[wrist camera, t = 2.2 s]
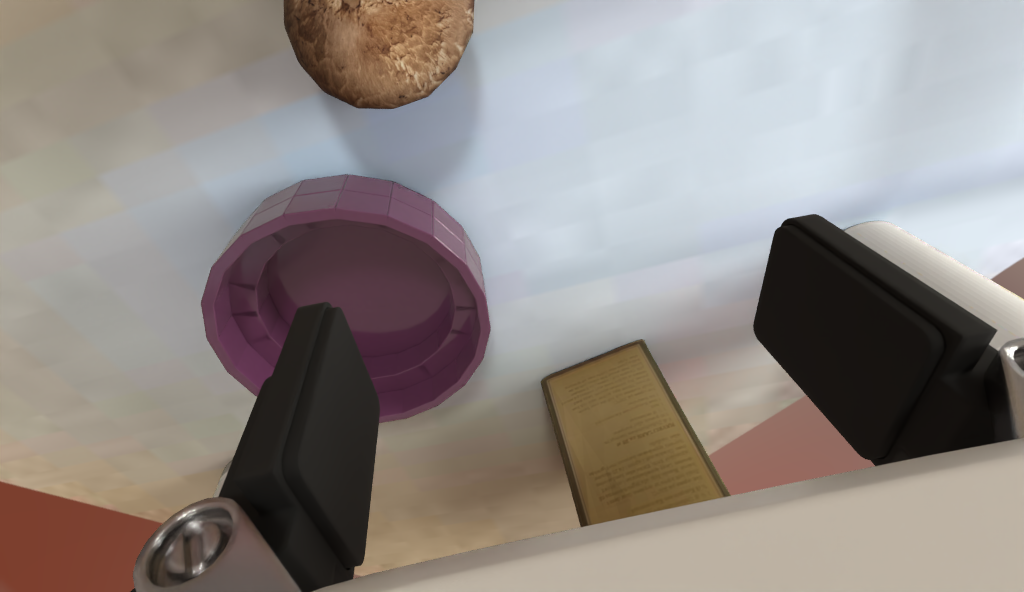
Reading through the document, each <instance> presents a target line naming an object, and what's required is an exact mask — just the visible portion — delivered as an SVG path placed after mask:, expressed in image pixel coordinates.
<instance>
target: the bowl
mask: <svg viewBox="0 0 1024 592" xmlns="http://www.w3.org/2000/svg"><path fill="white" fill-rule="evenodd" d="M323 302H329V303H330V304H331V305H332V307H333V308H334V307H340V308H341V309H342V311H343V313H344V315H345V318H346V320H347V322H348V325H349V327H350V330H351V332H352V334H353V337H354V339H355V342H356V344H357V347H358V349H359V351H360V354H361V356H362V359H363V361H364V363H365V366H366V368H367V371H368V373H369V376H370V378H371V380H372V383H373V385H374V388H375V390H376V392H377V395H378V398H379V403H380V416H379V423H383V422H389V421H395V420H401V419H405V418H409V417H411V416H414V415H416V414H419V413H421V412H424V411H426V410H429V409H431V408H433V407H436V406H438V405H439V404H441V403H442V402H443V401H445V400H446V399H447V398H449V397H450V396H451V395H453V394H454V393H455V392H457V391H458V390H459V389H461V388H462V387H463V386H464V385H465V384H466V383H467V382H468V380H469V379H470V377H471V376H472V375H473V373H474V372H475V370H476V369H477V367H478V366H479V365H480V363H481V362H482V360H483V357H484V354H485V350H486V346H487V342H488V338H489V334H490V321H489V314H488V308H487V301H486V294H485V288H484V282H483V275H482V269H481V263H480V258H479V255H478V254H477V252H476V250H475V248H474V246H473V245H472V243H471V241H470V239H469V237H468V236H467V234H466V232H465V230H464V229H463V227H462V226H461V225H460V224H459V223H458V222H457V221H456V220H455V219H454V218H452V217H451V216H450V215H449V214H448V213H447V212H446V211H445V210H444V209H442V208H441V207H440V206H439V205H438V204H437V203H436V202H435V201H432V199H430V198H427V197H425V196H423V195H421V194H419V193H417V192H415V191H413V190H410V189H408V188H406V187H404V186H402V185H400V184H398V183H396V182H392V181H387V180H381V179H375V178H368V177H362V176H356V175H348V174H345V175H338V176H331V177H323V178H316V179H308V180H304V181H303V180H302V181H300V182H298V183H296V184H294V185H292V186H290V187H288V188H286V189H284V190H282V191H280V192H278V193H276V194H274V195H272V196H270V197H268V198H266V200H264V201H263V202H262V203H261V204H260V205H259V207H258V208H257V209H256V210H255V211H254V212H253V213H252V214H251V215H250V217H249V218H248V219H247V220H246V221H245V222H244V223H243V224H242V225H241V227H240V228H239V229H238V231H237V232H236V234H235V235H234V236H233V238H232V239H231V241H230V242H229V243H228V245H227V246H226V247H225V249H224V250H223V252H222V253H221V254H220V256H219V257H218V259H217V260H216V261H215V263H214V264H213V266H212V267H211V270H210V274H209V277H208V280H207V284H206V287H205V290H204V294H203V297H202V300H201V307H202V313H203V319H204V325H205V331H206V337H207V340H208V342H209V343H210V345H211V347H212V348H213V350H214V351H215V353H216V355H217V356H218V358H219V360H220V361H221V363H222V364H223V366H224V368H225V369H226V370H227V372H228V373H229V374H230V375H232V376H233V377H234V378H235V379H236V380H237V381H239V382H240V383H241V384H242V385H243V386H244V387H246V388H247V389H248V390H249V391H250V392H251V393H253V394H254V395H255V396H257V397H258V394H259V392H260V389H261V387H262V385H263V383H264V381H265V380H266V379H267V378H268V377H270V376H272V374H273V371H274V369H275V366H276V364H277V361H278V358H279V356H280V353H281V350H282V348H283V345H284V342H285V340H286V337H287V334H288V332H289V329H290V327H291V324H292V321H293V319H294V316H295V313H296V311H297V309H298V307H301V306H306V305H312V304H317V303H323Z"/></svg>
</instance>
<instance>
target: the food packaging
mask: <svg viewBox="0 0 1024 592" xmlns="http://www.w3.org/2000/svg"><path fill="white" fill-rule="evenodd" d="M541 384H542V388H543V392H544V395H545V399H546V403H547V406H548V410H549V413H550V417H551V421H552V424H553V428H554V431H555V435H556V438H557V442H558V445H559V449H560V452H561V456H562V459H563V463H564V466H565V470H566V474H567V477H568V481H569V485H570V488H571V492H572V496H573V500H574V503H575V507H576V511H577V514H578V518H579V522H580V526H581V527H585V526H590V525H594V524H599V523H604V522H608V521H613V520H618V519H622V518H627V517H632V516H637V515H642V514H646V513H651V512H656V511H661V510H666V509H670V508H675V507H680V506H685V505H689V504H694V503H699V502H704V501H709V500H713V499H718V498H723V497H728V496H731V495H730V494H729V492H728V490H727V489H726V486H725V485H724V483H723V481H722V479H721V478H720V476H719V474H718V472H717V471H716V469H715V467H714V465H713V463H712V462H711V460H710V458H709V456H708V455H707V453H706V451H705V449H704V448H703V446H702V444H701V442H700V441H699V439H698V437H697V435H696V434H695V432H694V430H693V428H692V427H691V425H690V423H689V421H688V420H687V418H686V416H685V414H684V412H683V411H682V409H681V407H680V405H679V404H678V402H677V400H676V398H675V396H674V395H673V393H672V391H671V389H670V387H669V386H668V384H667V382H666V380H665V378H664V377H663V375H662V373H661V371H660V369H659V368H658V366H657V364H656V362H655V360H654V359H653V357H652V355H651V353H650V351H649V350H648V348H647V345H646V343H645V341H644V340H642V339H641V340H638V341H635V342H632V343H629V344H627V345H624V346H621V347H619V348H616V349H614V350H612V351H610V352H607V353H605V354H602V355H600V356H597V357H595V358H592V359H589V360H587V361H584V362H582V363H579V364H577V365H574V366H572V367H569V368H567V369H564V370H562V371H559V372H556V373H554V374H551V375H549V376H547V377H545V378H544V379H543V380H542V381H541Z"/></svg>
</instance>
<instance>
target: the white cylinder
mask: <svg viewBox="0 0 1024 592" xmlns="http://www.w3.org/2000/svg"><path fill="white" fill-rule="evenodd" d="M844 232H846V233H847V234H849V235H851V236H852V237H854V238H855V239H857V240H858V241H860V242H861V243H863V244H865V245H866V246H868V247H869V248H871V249H872V250H874V251H875V252H877V253H879V254H880V255H882V256H883V257H885V258H886V259H888V260H889V261H891V262H893V263H894V264H896V265H897V266H899V267H900V268H902V269H903V270H905V271H907V272H908V273H910V274H911V275H913V276H914V277H916V278H917V279H919V280H921V281H922V282H924V283H925V284H927V285H928V286H930V287H931V288H933V289H935V290H936V291H938V292H939V293H941V294H942V295H944V296H945V297H947V298H949V299H950V300H952V301H953V302H955V303H956V304H958V305H959V306H961V307H963V308H964V309H966V310H967V311H969V312H970V313H972V314H973V315H975V316H977V317H978V318H980V319H981V320H983V321H984V322H986V323H987V324H989V325H991V326H992V327H994V328H995V329H997V330H998V331H997V332H996V334H995V335H994V337H993V339H992V340H991V342H990V343H989V345H990V346H992V347H993V348H995V349H996V350H998V351H999V350H1000V348H1001V347H1002V346H1003V345H1004V344H1005V343H1006V342H1007V341H1011V340H1014V339H1018V338H1024V299H1022V298H1020V297H1019V296H1017V295H1015V294H1014V293H1012V292H1010V291H1008V290H1006V289H1005V288H1003V287H1002V286H1000V285H998V284H996V283H995V282H993V281H991V280H989V279H988V278H986V277H984V276H982V275H981V274H979V273H977V272H976V271H974V270H972V269H970V268H969V267H967V266H965V265H963V264H962V263H960V262H958V261H957V260H955V259H953V258H951V257H950V256H948V255H946V254H944V253H943V252H941V251H939V250H937V249H936V248H934V247H932V246H931V245H929V244H927V243H925V242H924V241H922V240H920V239H918V238H917V237H915V236H913V235H911V234H910V233H908V232H906V231H905V230H903V229H901V228H899V227H898V226H896V225H894V224H892V223H889V222H885V221H871V222H865V223H861V224H858V225H855V226H853V227H850V228H848V229H846V230H844Z"/></svg>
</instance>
